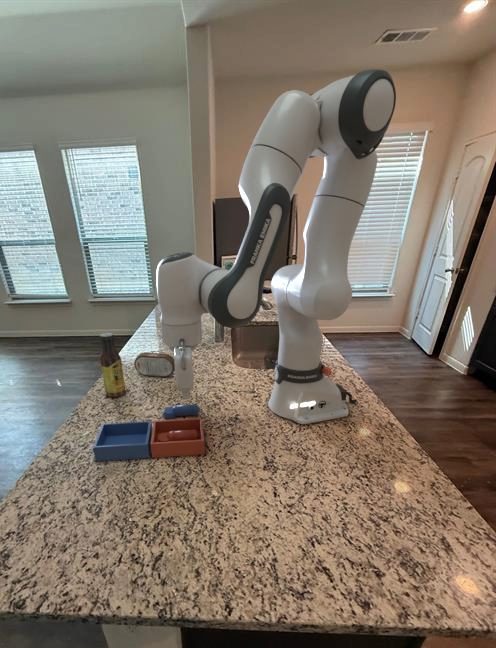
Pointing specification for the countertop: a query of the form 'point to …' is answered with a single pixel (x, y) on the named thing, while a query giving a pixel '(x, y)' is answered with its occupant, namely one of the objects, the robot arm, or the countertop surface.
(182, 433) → the red lumpy bar
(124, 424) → the blue bin
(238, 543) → the countertop surface
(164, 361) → the tin
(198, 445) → the red bin
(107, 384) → the sauce bottle
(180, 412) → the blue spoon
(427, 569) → the countertop surface
